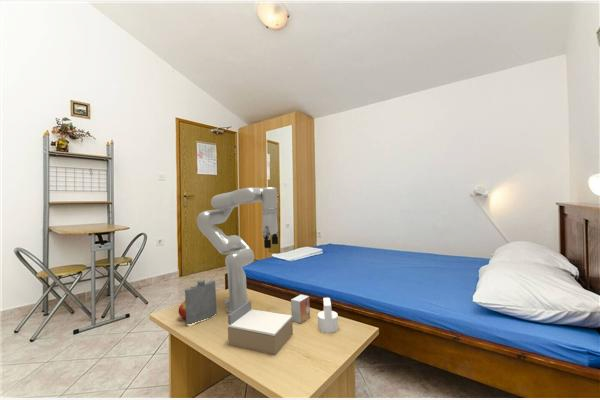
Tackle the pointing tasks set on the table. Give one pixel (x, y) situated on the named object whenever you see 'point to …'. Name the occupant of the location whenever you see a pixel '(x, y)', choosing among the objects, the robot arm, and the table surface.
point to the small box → (300, 308)
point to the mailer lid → (257, 320)
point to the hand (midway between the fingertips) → (271, 245)
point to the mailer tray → (260, 339)
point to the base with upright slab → (327, 318)
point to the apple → (182, 310)
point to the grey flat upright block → (200, 301)
